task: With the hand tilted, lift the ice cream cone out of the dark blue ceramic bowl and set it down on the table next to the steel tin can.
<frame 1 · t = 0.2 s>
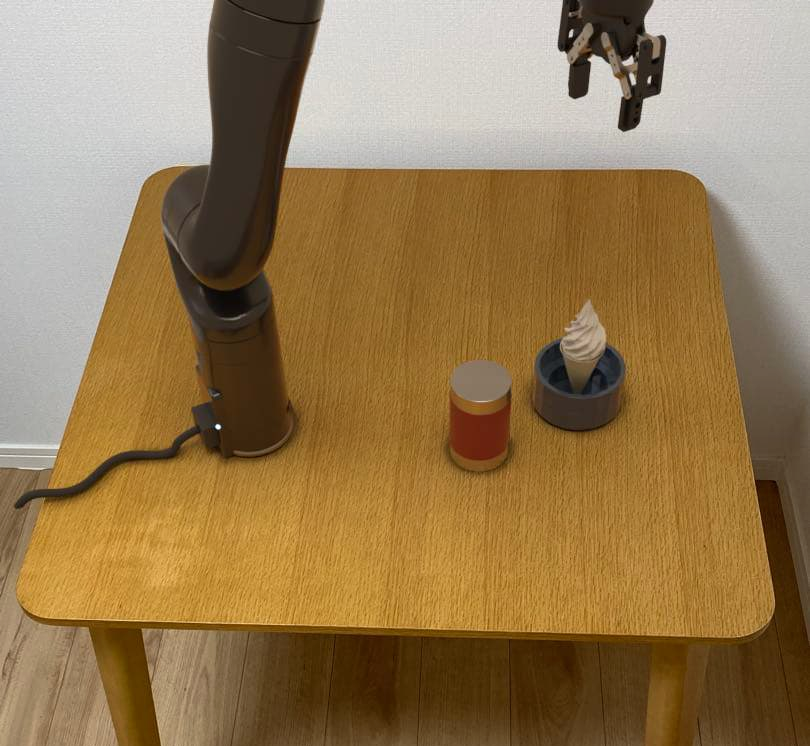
hand: (602, 112, 127), 29 cm above the table, tool pointing down, fingers open, 8 cm apart
tin can: (478, 450, 136), on the table
bowl: (576, 400, 140), on the table
ice cream cone: (576, 399, 140), resting on bowl
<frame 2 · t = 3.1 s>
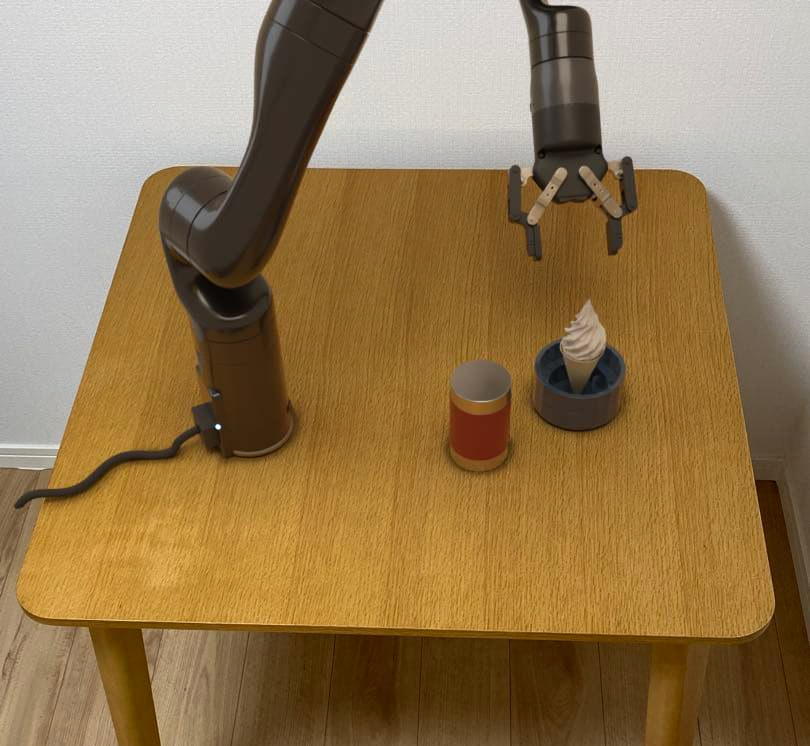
hand: (575, 257, 133), 15 cm above the table, tool tilted 45°, fingers open, 8 cm apart
nothing on the table moved.
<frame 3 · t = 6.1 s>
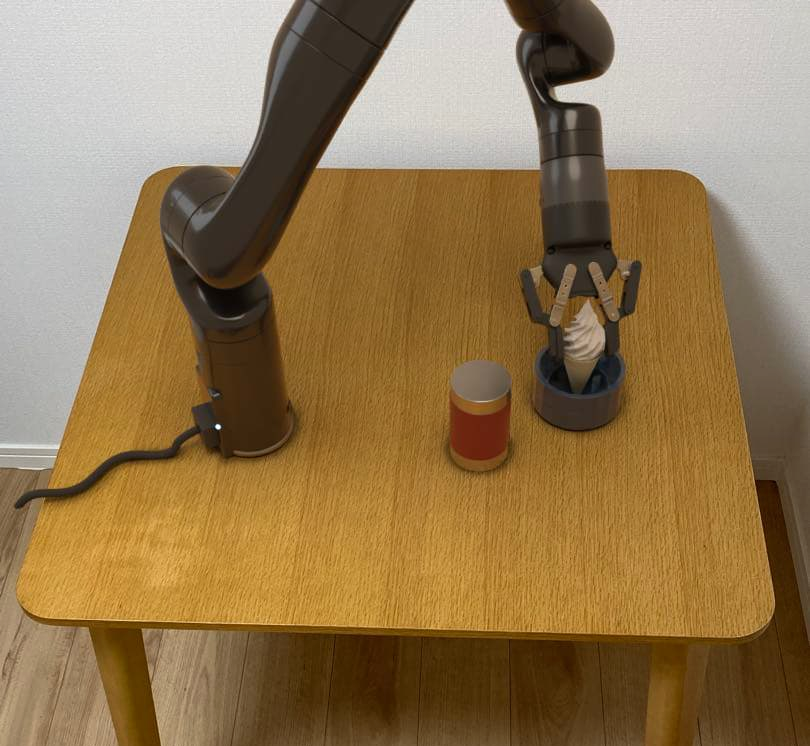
hand: (585, 358, 133), 8 cm above the table, tool tilted 45°, fingers closed on ice cream cone, 5 cm apart
ice cream cone: (576, 399, 140), resting on bowl, touching gripper
everything else where it was.
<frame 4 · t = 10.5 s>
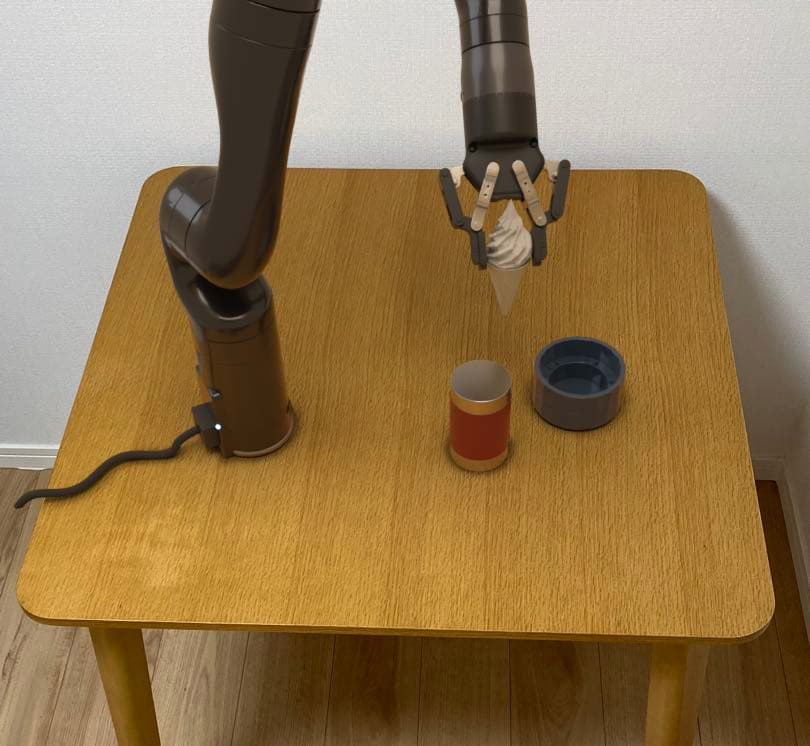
hand: (510, 266, 123), 21 cm above the table, tool tilted 45°, fingers closed on ice cream cone, 5 cm apart
ice cream cone: (505, 315, 131), point 13 cm above the table, touching gripper
everything else where it was.
when the fingers open (8 cm above the table, at t = 15.0 s): ice cream cone stays where it is, on the table.
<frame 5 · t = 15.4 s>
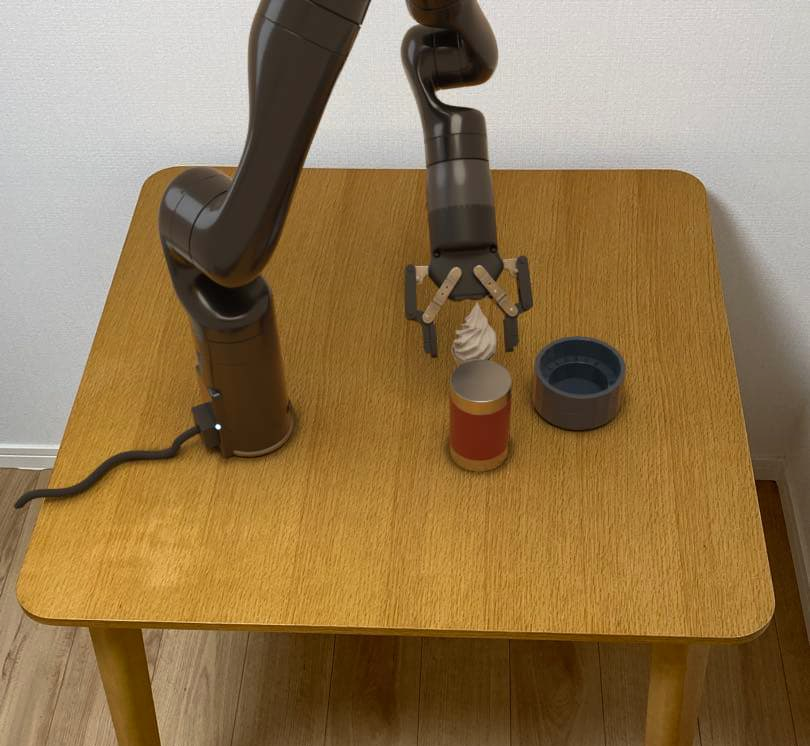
hand: (472, 355, 133), 9 cm above the table, tool tilted 45°, fingers open, 8 cm apart
ice cream cone: (470, 402, 141), on the table
everything else where it was.
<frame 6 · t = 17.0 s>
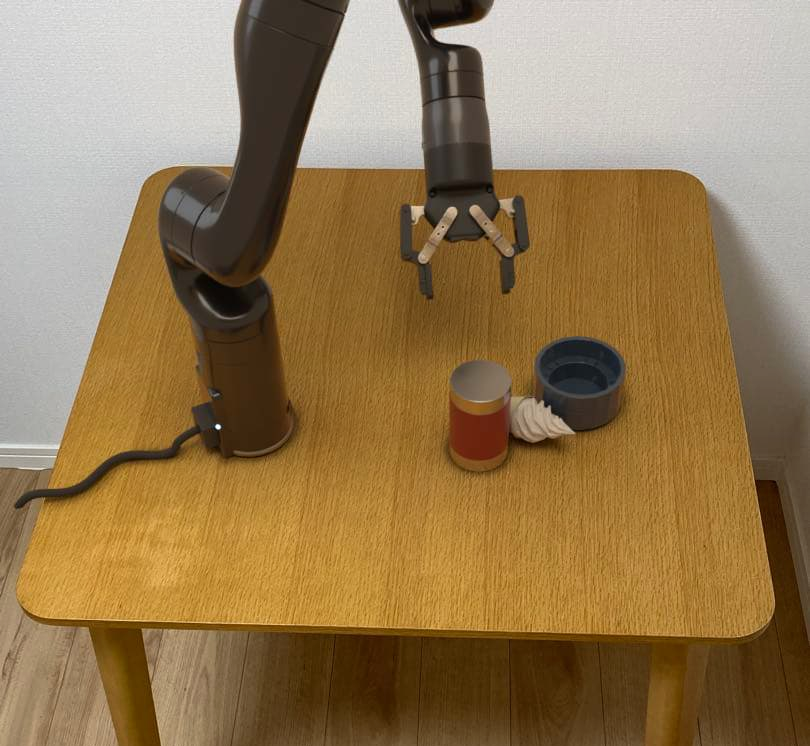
hand: (468, 296, 132), 13 cm above the table, tool tilted 45°, fingers open, 8 cm apart
ice cream cone: (467, 398, 140), point 1 cm above the table
everything else where it was.
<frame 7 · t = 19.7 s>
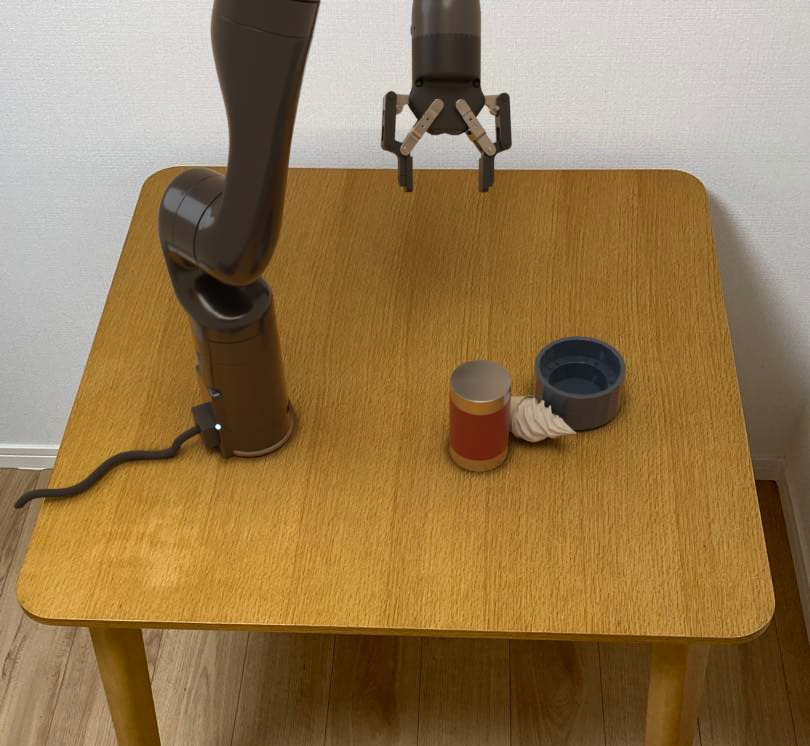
hand: (446, 192, 132), 21 cm above the table, tool tilted 35°, fingers open, 8 cm apart
nothing on the table moved.
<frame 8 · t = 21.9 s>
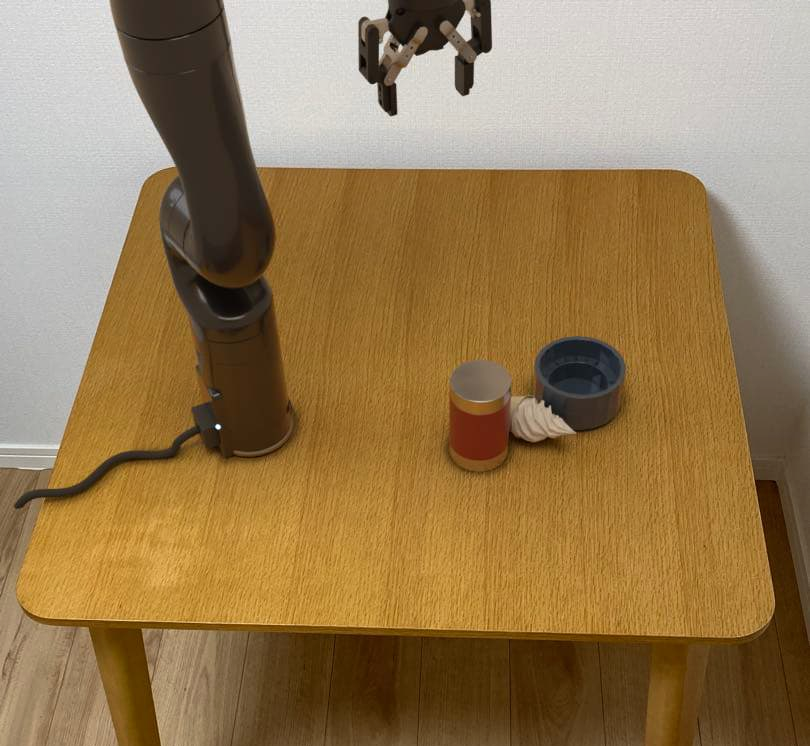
hand: (426, 102, 127), 30 cm above the table, tool pointing down, fingers open, 8 cm apart
nothing on the table moved.
at the end: ice cream cone 7.8 cm from the tin can (horizontally); ice cream cone touching table; the gripper is holding nothing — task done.
